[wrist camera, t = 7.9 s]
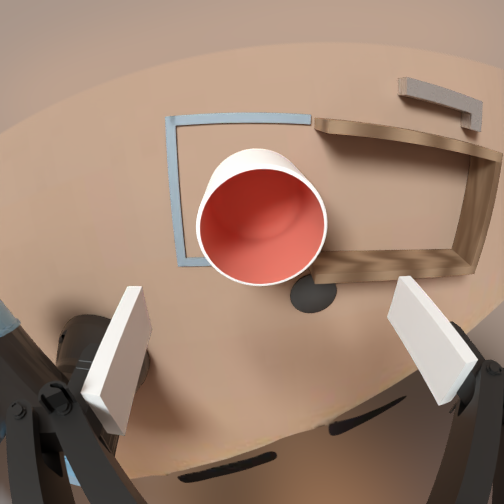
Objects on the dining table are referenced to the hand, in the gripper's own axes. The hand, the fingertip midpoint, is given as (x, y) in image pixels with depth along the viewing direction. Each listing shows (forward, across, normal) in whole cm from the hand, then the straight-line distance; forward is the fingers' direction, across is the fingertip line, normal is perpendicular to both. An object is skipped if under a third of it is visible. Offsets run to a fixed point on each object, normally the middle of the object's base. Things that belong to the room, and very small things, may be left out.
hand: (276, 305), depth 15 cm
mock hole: (+19, +8, -13) cm, 24 cm away
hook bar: (+18, +22, +13) cm, 31 cm away
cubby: (+18, +18, 0) cm, 26 cm away
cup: (+19, 0, 0) cm, 19 cm away
